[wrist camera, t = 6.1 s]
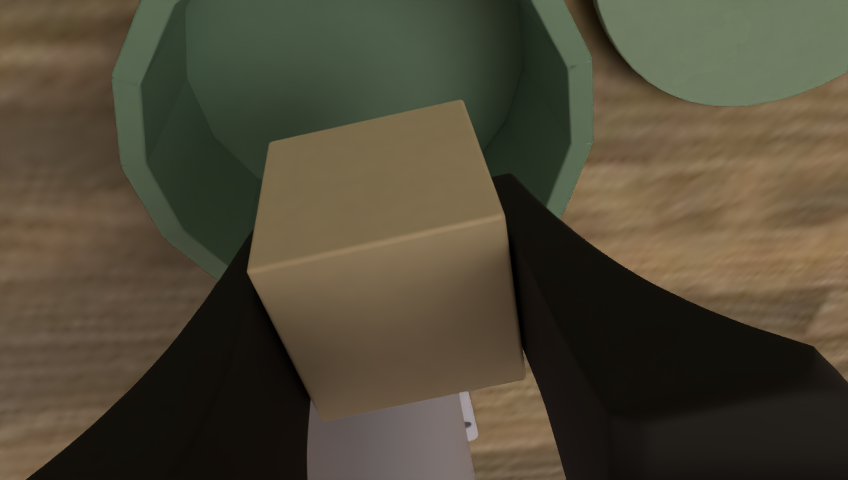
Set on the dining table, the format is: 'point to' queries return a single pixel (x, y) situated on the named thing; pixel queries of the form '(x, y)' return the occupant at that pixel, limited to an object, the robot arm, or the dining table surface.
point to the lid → (730, 46)
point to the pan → (335, 95)
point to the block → (387, 262)
